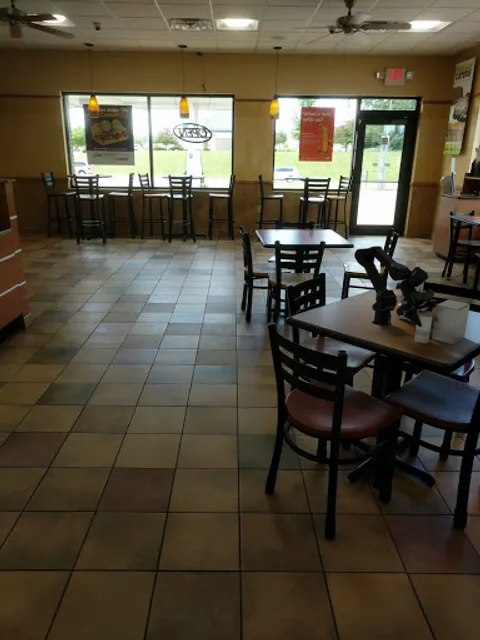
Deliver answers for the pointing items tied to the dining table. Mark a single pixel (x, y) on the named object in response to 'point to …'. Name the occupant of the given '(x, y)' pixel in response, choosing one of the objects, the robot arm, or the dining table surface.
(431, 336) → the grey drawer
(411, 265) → the champagne flute
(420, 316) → the cup
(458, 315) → the caddy
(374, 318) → the robot arm
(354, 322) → the dining table surface
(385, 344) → the dining table surface
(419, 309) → the candy box
